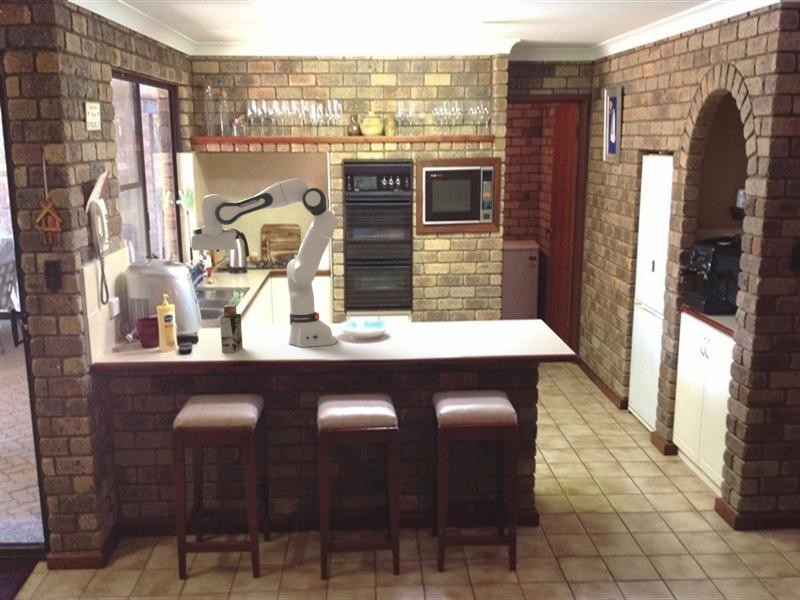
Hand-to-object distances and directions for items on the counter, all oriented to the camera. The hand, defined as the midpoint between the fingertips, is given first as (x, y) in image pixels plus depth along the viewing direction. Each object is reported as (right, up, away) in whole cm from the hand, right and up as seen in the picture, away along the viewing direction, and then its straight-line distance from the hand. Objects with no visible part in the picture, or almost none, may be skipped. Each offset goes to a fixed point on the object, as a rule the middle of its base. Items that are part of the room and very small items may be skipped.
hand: (215, 259), depth 343 cm
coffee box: (+10, -42, -9) cm, 44 cm away
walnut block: (+10, -26, -12) cm, 30 cm away
